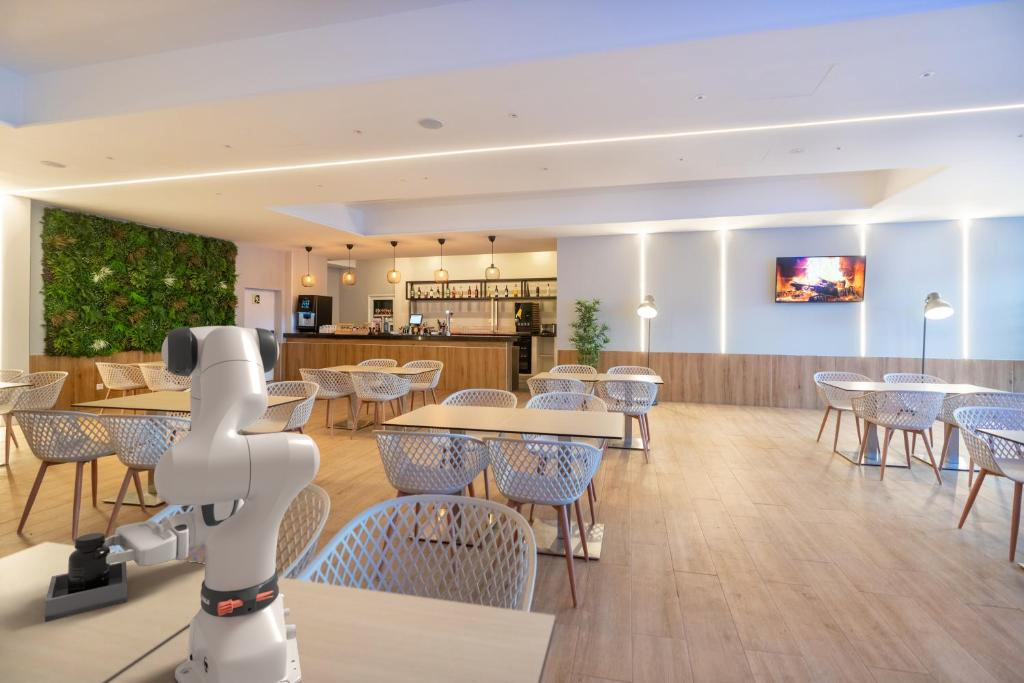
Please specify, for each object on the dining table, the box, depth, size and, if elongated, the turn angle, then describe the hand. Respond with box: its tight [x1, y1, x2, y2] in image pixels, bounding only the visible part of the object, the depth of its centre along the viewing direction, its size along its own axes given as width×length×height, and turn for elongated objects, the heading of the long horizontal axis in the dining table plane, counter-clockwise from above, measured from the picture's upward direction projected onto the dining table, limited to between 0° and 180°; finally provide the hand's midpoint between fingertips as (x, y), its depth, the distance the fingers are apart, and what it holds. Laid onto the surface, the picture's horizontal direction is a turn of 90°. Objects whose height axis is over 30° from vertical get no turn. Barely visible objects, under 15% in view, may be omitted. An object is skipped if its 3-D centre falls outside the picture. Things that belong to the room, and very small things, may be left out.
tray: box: [44, 562, 128, 623], centre depth 106 cm, size 13×13×4 cm
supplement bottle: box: [67, 532, 111, 594], centre depth 106 cm, size 7×7×12 cm
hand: (99, 552), depth 107 cm, fingers open, 8 cm apart
